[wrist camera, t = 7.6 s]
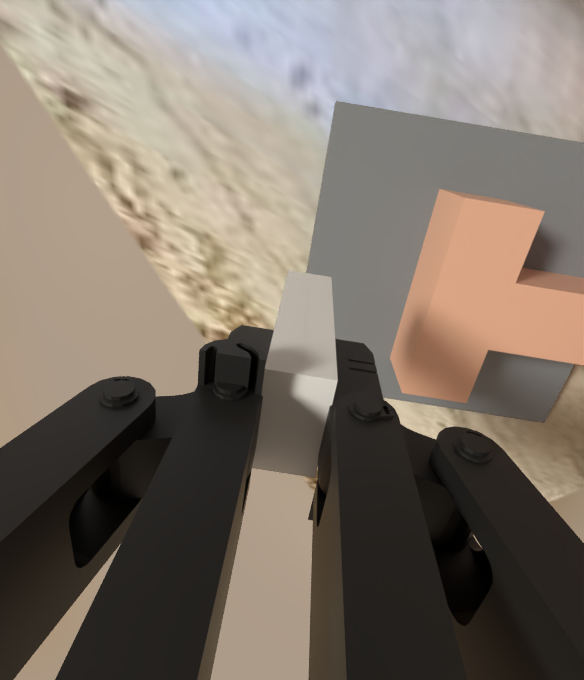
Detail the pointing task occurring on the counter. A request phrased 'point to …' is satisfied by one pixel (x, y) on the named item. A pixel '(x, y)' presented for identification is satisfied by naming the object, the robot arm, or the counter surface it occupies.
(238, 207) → the counter surface
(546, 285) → the t block
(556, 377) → the mat
